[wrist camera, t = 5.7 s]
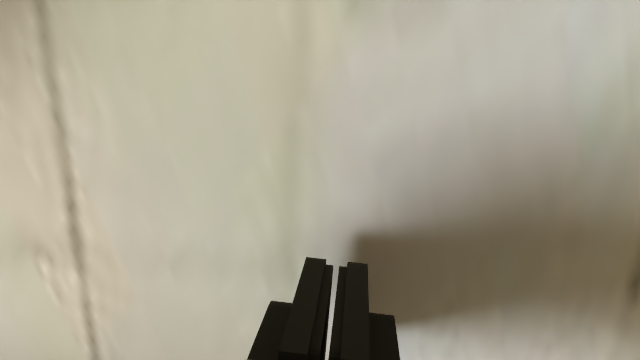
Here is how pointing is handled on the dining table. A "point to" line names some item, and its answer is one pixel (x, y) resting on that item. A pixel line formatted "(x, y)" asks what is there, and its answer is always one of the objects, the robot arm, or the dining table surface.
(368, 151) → the dining table surface
